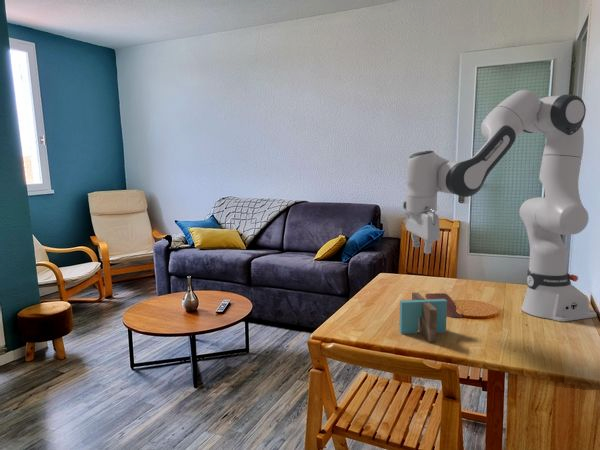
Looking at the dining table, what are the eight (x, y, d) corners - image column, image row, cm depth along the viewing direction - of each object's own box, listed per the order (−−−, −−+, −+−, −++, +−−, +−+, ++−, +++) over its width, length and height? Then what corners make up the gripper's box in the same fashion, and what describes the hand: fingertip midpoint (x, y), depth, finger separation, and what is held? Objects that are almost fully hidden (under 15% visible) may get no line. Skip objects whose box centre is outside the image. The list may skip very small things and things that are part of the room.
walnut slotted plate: (417, 321, 140) (418, 292, 139) (435, 342, 125) (436, 309, 123) (411, 322, 140) (412, 292, 139) (429, 342, 125) (430, 309, 123)
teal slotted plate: (443, 329, 134) (444, 298, 132) (445, 332, 132) (447, 300, 130) (399, 331, 133) (399, 300, 131) (401, 334, 131) (401, 302, 130)
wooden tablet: (465, 320, 143) (465, 315, 143) (434, 319, 144) (434, 314, 144) (449, 295, 169) (449, 291, 169) (423, 294, 170) (423, 290, 170)
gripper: (445, 208, 120) (445, 257, 122) (420, 201, 140) (420, 243, 142) (423, 210, 119) (423, 258, 122) (401, 202, 140) (401, 244, 142)
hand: (421, 250), depth 132 cm, fingers open, 8 cm apart
